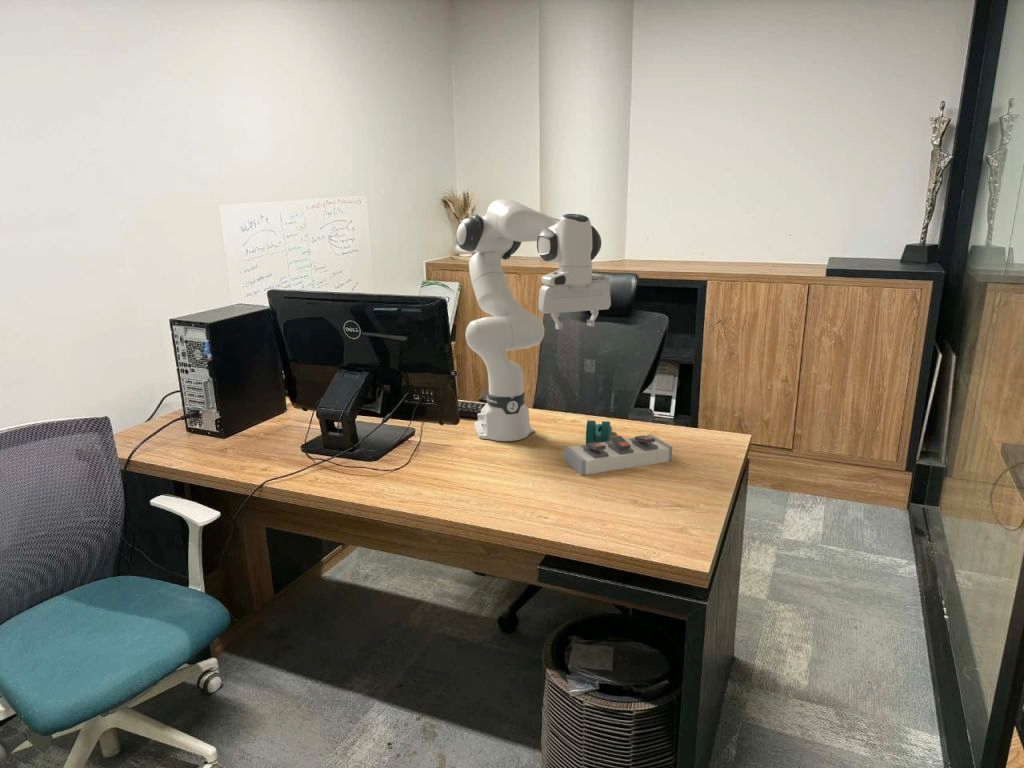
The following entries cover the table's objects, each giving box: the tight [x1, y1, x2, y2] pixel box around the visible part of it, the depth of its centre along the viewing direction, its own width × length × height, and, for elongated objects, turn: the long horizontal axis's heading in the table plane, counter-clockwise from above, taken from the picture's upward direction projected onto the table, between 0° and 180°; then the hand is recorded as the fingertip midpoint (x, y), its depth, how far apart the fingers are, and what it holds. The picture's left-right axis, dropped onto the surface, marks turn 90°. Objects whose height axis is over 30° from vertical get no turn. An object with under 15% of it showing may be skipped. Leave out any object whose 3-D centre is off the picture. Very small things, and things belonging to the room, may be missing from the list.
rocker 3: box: [634, 435, 655, 443], centre depth 204 cm, size 6×3×1 cm, turn 21°
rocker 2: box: [610, 435, 631, 450], centre depth 201 cm, size 6×3×1 cm, turn 21°
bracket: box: [585, 420, 613, 444], centre depth 221 cm, size 18×7×8 cm, turn 167°
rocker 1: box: [585, 442, 606, 451], centre depth 198 cm, size 6×3×1 cm, turn 21°
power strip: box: [563, 433, 674, 476], centre depth 203 cm, size 12×29×5 cm, turn 111°
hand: (574, 327), depth 190 cm, fingers open, 8 cm apart
